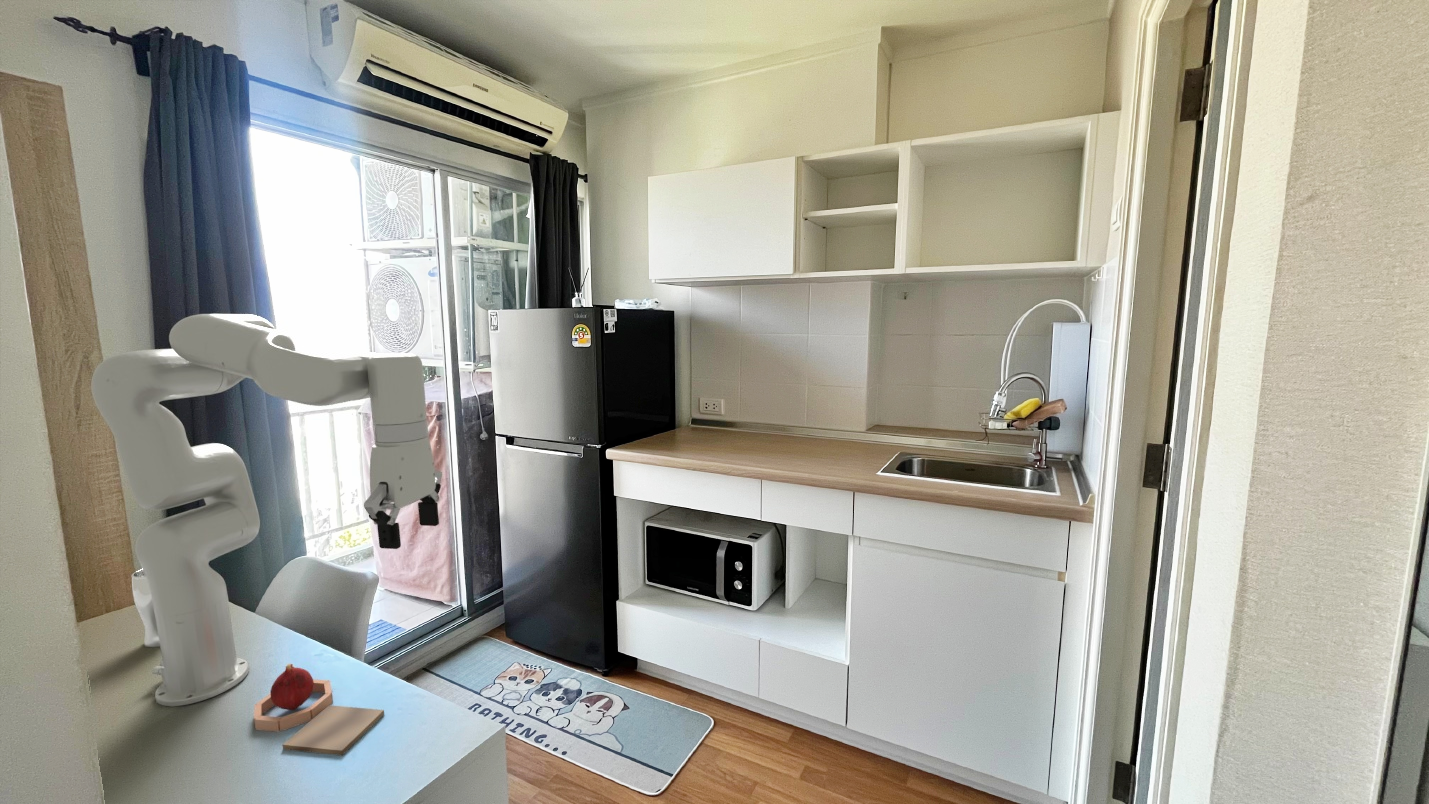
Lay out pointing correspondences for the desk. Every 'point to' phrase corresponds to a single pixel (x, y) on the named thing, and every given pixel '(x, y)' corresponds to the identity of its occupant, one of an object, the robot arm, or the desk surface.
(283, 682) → the onion
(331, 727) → the board
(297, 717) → the ring holder
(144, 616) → the beer glass
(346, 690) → the desk surface
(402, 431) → the robot arm
